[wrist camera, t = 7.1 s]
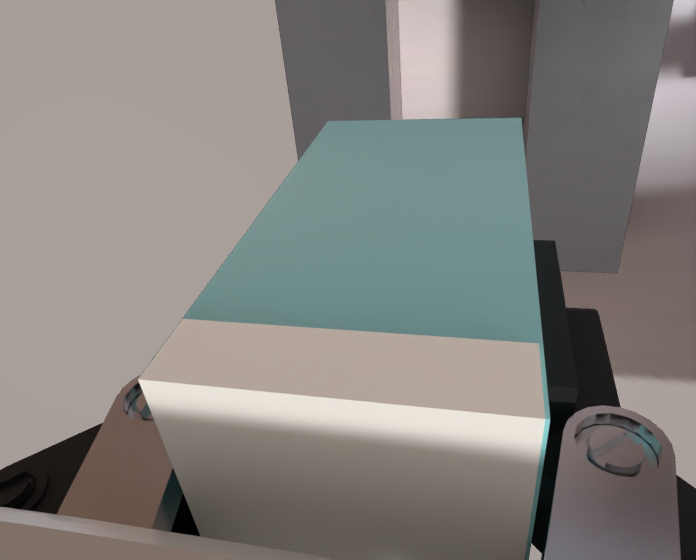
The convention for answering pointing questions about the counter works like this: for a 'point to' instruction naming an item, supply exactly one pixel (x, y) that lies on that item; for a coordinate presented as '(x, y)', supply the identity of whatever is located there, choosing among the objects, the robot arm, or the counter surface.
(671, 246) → the counter surface
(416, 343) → the plug
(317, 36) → the port
